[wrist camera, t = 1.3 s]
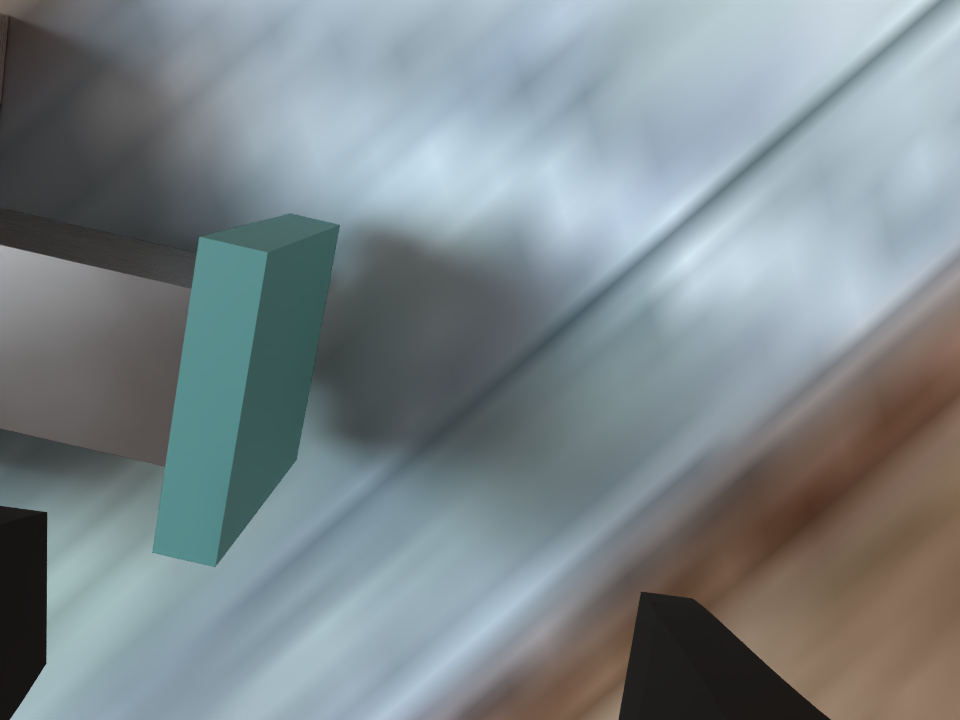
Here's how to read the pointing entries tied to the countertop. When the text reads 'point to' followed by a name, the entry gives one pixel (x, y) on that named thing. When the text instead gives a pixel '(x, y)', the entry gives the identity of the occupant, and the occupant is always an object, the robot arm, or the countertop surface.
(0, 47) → the block
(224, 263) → the shaft
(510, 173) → the countertop surface
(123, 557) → the countertop surface
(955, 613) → the countertop surface
